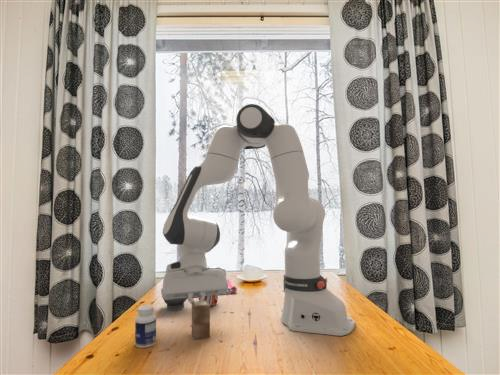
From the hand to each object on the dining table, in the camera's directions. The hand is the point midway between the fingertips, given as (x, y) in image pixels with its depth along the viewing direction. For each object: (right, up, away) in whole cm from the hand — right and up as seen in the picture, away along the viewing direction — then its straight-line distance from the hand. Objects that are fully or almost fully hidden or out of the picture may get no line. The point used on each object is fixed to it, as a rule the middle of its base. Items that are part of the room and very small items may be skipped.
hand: (197, 308), depth 96 cm
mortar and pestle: (-11, -8, +21) cm, 25 cm away
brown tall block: (+2, -6, -4) cm, 8 cm away
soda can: (0, -8, +24) cm, 25 cm away
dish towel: (-3, -9, +43) cm, 44 cm away
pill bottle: (-13, -6, -9) cm, 17 cm away
